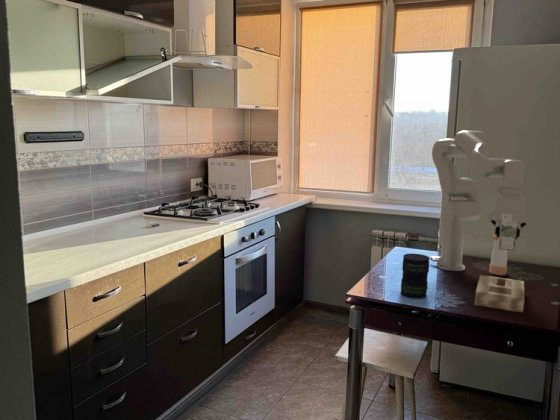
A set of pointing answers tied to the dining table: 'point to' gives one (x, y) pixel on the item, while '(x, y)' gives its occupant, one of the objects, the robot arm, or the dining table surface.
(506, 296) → the socket block
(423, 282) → the storage jar
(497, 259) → the salt shaker
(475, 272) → the dining table surface
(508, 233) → the syrup box
